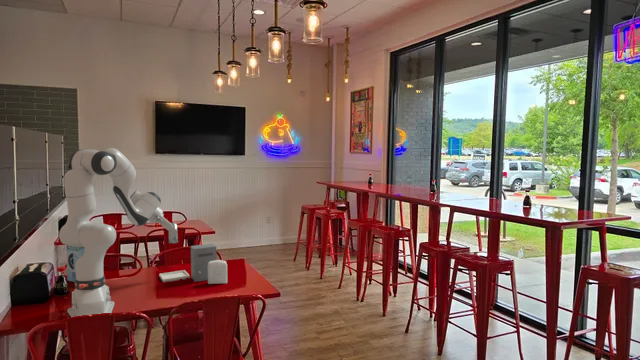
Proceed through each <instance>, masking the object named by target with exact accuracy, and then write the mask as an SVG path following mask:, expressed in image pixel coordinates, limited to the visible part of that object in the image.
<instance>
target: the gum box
mask: <svg viewBox="0 0 640 360" xmlns="http://www.w3.org/2000/svg"><path fill="white" fill-rule="evenodd" d="M65 248H66V274H67V276H66V277H67V281H69V282H73V283H75V279H76V269H75V263H76V261H77V260H78V259H79V258H80V257H82V256H83V255H84V251H85V248H84V247H72V246H69V245H66V244H65Z"/></svg>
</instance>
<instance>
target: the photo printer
mask: <svg viewBox="0 0 640 360" xmlns="http://www.w3.org/2000/svg"><path fill="white" fill-rule="evenodd" d="M207 284H208V285H214V284H215V285H216V284H217V285H218V284H228V264H227V260H222V259H217V260H214V261H210V262H209V263H208V280H207Z"/></svg>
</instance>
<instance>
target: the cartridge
mask: <svg viewBox="0 0 640 360" xmlns="http://www.w3.org/2000/svg"><path fill="white" fill-rule="evenodd" d="M170 223H171V224H172V225H173V228H174V229H175V230H176V232H175V233H173V232H172V231H171V230H169V231H168V244H177V243H179V240H178V239H179V237H178V235H179V234H178V223H175V222H170Z"/></svg>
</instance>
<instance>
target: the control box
mask: <svg viewBox="0 0 640 360" xmlns="http://www.w3.org/2000/svg"><path fill="white" fill-rule="evenodd" d="M214 260H218V259H217V245H215V244H213V243H205V244H204V243H203V244H196V245H191V246H190V271H191V272H190V273H191V279H192V280H193V281H194V283H198V282H202V281H208V263H209V262H210V261H214ZM197 281H198V282H197Z"/></svg>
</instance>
